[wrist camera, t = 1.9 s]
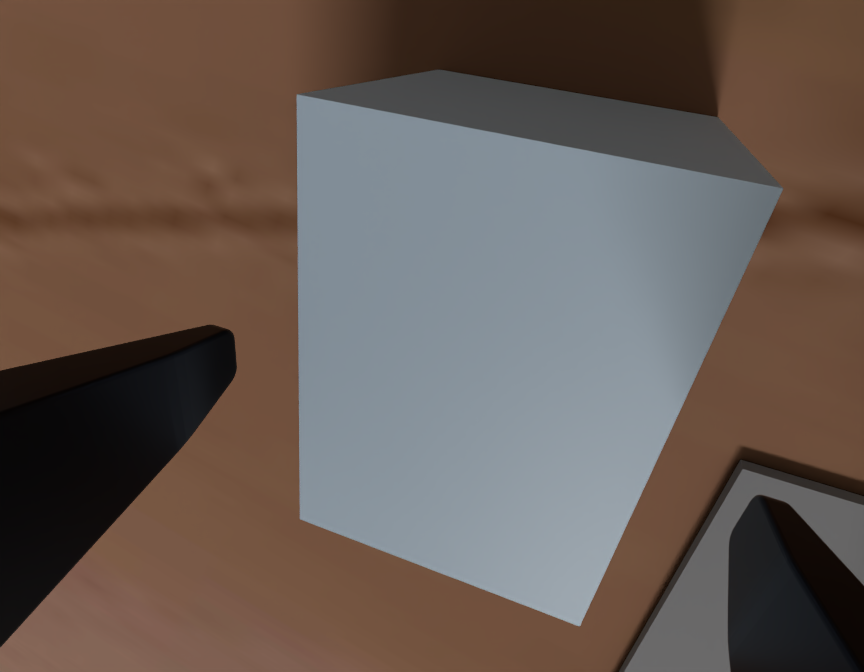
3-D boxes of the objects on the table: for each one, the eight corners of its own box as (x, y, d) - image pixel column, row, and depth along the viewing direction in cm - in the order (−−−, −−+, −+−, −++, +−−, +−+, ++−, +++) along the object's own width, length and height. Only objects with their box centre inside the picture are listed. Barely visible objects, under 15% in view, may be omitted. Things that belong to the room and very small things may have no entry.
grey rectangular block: (600, 431, 16) (579, 626, 11) (403, 372, 18) (300, 519, 12) (718, 117, 12) (783, 188, 6) (439, 69, 13) (296, 94, 8)
